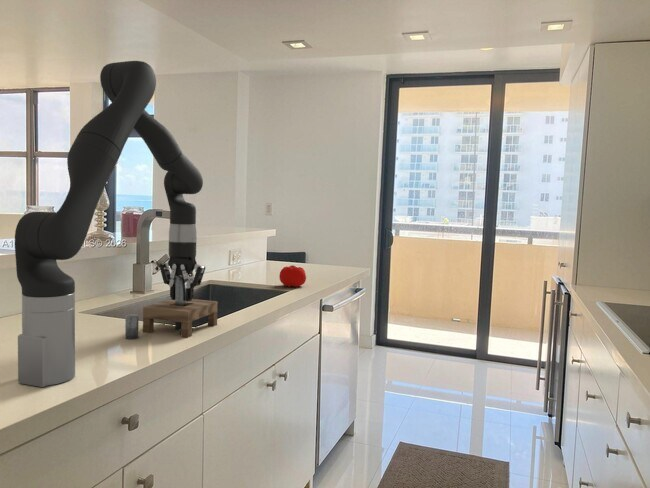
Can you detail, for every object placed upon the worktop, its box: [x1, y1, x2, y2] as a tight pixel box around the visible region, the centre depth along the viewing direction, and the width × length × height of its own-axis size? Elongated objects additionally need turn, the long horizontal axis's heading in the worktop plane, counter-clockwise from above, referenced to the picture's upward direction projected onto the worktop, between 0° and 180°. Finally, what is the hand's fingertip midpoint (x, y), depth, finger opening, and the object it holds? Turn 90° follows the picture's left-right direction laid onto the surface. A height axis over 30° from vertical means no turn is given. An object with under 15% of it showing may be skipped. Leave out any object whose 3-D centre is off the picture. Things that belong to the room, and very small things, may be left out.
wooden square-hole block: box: [142, 298, 219, 338], centre depth 146 cm, size 16×14×7 cm
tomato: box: [278, 264, 307, 288], centre depth 227 cm, size 11×12×9 cm
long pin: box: [174, 276, 187, 330], centre depth 145 cm, size 3×3×15 cm
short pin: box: [124, 313, 140, 340], centre depth 134 cm, size 3×3×6 cm
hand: (181, 299), depth 145 cm, fingers open, 4 cm apart
